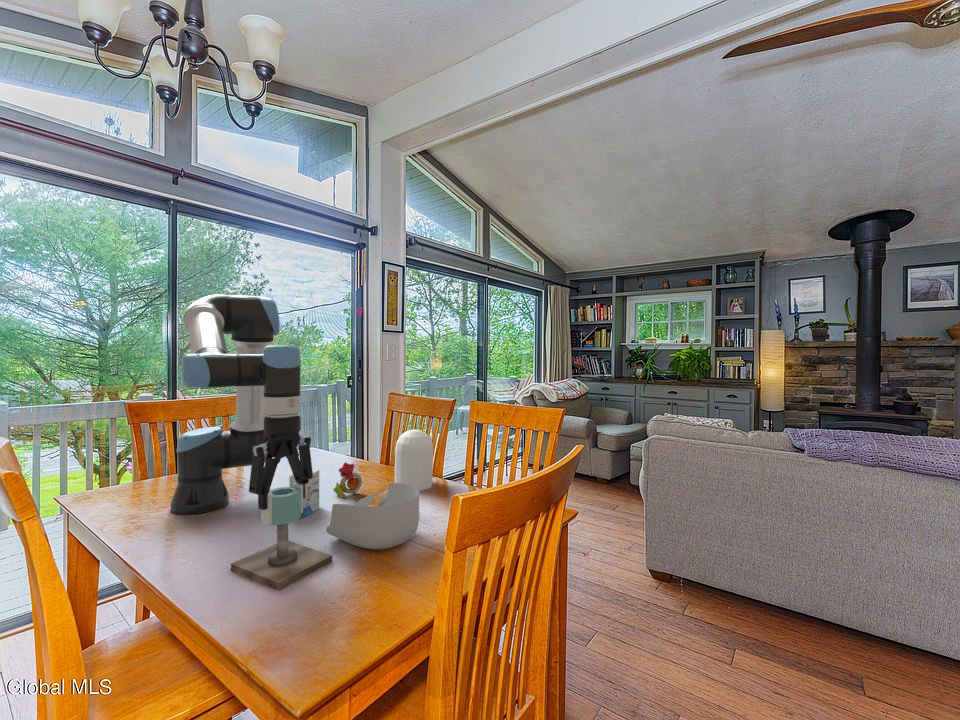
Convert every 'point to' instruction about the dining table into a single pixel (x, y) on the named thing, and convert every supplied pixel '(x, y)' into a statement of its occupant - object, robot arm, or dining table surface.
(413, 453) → the container
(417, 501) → the bowl
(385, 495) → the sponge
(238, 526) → the dining table surface
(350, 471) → the bird rattle
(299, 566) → the shaft board
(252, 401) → the robot arm
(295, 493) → the collar
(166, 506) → the dining table surface
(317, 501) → the ink box
